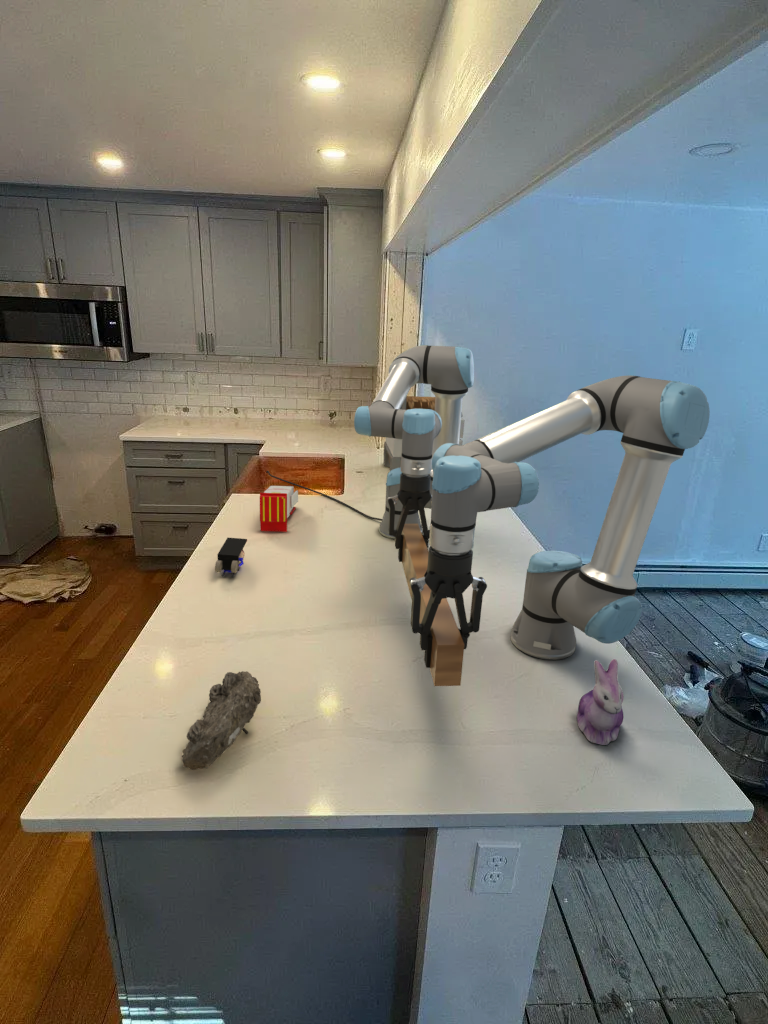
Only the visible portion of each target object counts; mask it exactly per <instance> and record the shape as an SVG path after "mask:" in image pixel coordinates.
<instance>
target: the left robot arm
mask: <svg viewBox="0 0 768 1024" xmlns="http://www.w3.org/2000/svg"><path fill="white" fill-rule="evenodd" d="M474 383H475V361H474V355H473V352H472V350H471V349H469V348H467V347H461V346H453V345H451V346H449V345H429V344H422V345H420V344H419V345H415V346H412V347H411V348H407V349H406V350H404V351H403V352H401V353H400V354H397V356H396V357H395V358H394V359H393V360H392V362H391V363H390V365H389V367H388V375H387V376H386V379H385V381H384V382H383V383H382V385H381V387H380V389H379V391H378V393H376V396H375V398H374V399H373V401H372V402H371V405H361V406H358V407H357V408H356V411H355V413H354V419H353V425H354V430H355V432H356V434H358V435H360V436H365V437H369V438H370V437H373V438H375V437H378V438H396V439H402V456H401V468H396V469H393V470H391V471H390V470H389V472H388V473H387V475H386V482H385V504H384V505H385V507H384V508H385V509H384V513H383V515H382V518H380V517H373V516H370V515H367V514H366V513H364V512H362V511H360V510H358V509H357V508H354V507H352V506H351V505H350V504H347V503H345V502H343V501H341V500H339V499H337V498H334V497H332V496H330V495H327V494H326V493H322V492H319V491H318V490H314V489H312V488H309V487H306V486H303V485H300V484H297V483H294V482H291V481H289V480H286V479H283V478H280V477H277V476H275V475H273V474H272V473H270V470H266V472H265V473H266V474H268V476H270V477H271V478H274V479H277V480H279V481H281V482H284V483H287V484H290V485H291V486H295V487H298V488H301V489H304V490H307V491H310V492H313V493H316V494H318V495H321V496H323V497H326V498H327V499H330V500H333V501H335V502H337V503H339V504H341V505H343V506H345V507H347V508H349V509H351V510H352V511H354V512H356V513H358V514H360V515H362V516H364V517H365V518H368V519H371V520H374V521H379V527H378V533H379V534H380V535H381V536H382V537H385V538H387V539H389V540H394V547H395V550H398V553H397V554H398V555H397V558H398V562H399V563H402V557H403V535H401V534H402V531H403V528H404V524H418V525H419V528H420V530H421V533H422V536H423V538H424V541H425V543H426V546H427V549H429V537H430V529H429V528H428V522H427V517H426V511H425V509H428V510H429V509H430V510H431V507H432V482H433V476H434V472H433V469H432V458H433V455H434V453H435V451H436V450H437V449H438V448H439V447H440V446H442V445H444V444H446V443H452V444H459V438H460V425H461V418H462V417H461V412H462V413H463V411H462V409H463V399H464V397H465V396H466V395H467V394H468V393H469V389H470V388H473V386H474ZM416 384H423V385H430V392H431V393H432V394H433V395H434V397H435V411H434V410H431V409H408V410H401V409H400V408H401V406H402V404H403V402H404V400H405V398H406V396H408V395H409V392H410V390H411V389H412V388H413V387H415V386H416ZM460 439H461V438H460Z"/></svg>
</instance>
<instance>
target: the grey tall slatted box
mask: <svg viewBox="0 0 768 1024" xmlns="http://www.w3.org/2000/svg"><path fill="white" fill-rule="evenodd" d="M400 409H401V410H408V409H431V410H434V411H435V396H415V395H414V396H413V395H412V396H411V395H407V396H406V398H405V400H404V402H403V404H402V406H401V408H400ZM464 429H465V419H464V418H463V411H462V412H461V425H460V438H459V445H460V446H462V445H463V442H464V441H463V440H462V439H463V438H464V431H465V430H464ZM401 456H402V439H396V438H386V437H384V442H383V466H384V467H388V468H389V472H390V471H391V470H393V469H396V468H401Z"/></svg>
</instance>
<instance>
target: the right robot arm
mask: <svg viewBox="0 0 768 1024" xmlns="http://www.w3.org/2000/svg"><path fill="white" fill-rule="evenodd" d="M710 413H711V412H710V403H709V402H708V398H707V395H706V394H705V392H704V391H703V390H702V389H701V388H700V387H698V386H696V385H693V384H690V383H686V382H681V381H676V380H669V379H668V380H667V379H660V378H652V377H646V376H645V377H644V376H639V375H631V374H630V375H629V374H628V375H620V376H614V377H610V378H607V379H603V380H600V381H597V382H594V383H592V384H590V385H586V386H583V387H582V388H578V389H577V390H575V391H573V392H571V393H570V394H568V395H567V397H566V400H563V401H561V402H560V403H557V404H554V405H552V406H550V407H548V408H546V409H543V410H541V411H538V412H536V413H534V414H532V415H529V416H526V417H525V418H523V419H520V420H518V421H516V422H513V423H511V424H509V425H507V426H504V427H502V428H500V429H498V430H495V431H493V432H490V433H488V434H486V435H483V436H481V437H479V438H476V439H474V440H472V441H469V442H467V443H464V444H462V446H460V445H459V444H452V443H446V444H444V445H442V446H440V447H439V448H438V449H437V450H436V451H435V453H434V455H433V458H432V469H433V472H434V476H433V482H432V507H431V509H430V524H429V525H430V526H429V530H430V537H429V541H428V545H429V546H428V551H429V552H428V567H427V571H426V573H425V574H424V577H421V578H418V579H415V578H411V579H410V580H409V581H410V585H411V589H412V599H411V607H410V627H411V632H412V633H413V634H414V635H415V634H419V647H420V651H424V652H423V653H424V654H423V661H424V665H425V668H426V669H430V666H431V652H432V638H433V637H432V633H431V630H430V629H431V626H432V623H433V620H434V617H435V614H436V611H437V609H438V606H439V604H440V603H441V600H442V599H444V598H447V599H448V598H449V599H454V603H455V604H454V605H455V609H456V615H457V619H458V625H459V628H458V629H459V632H460V634H461V637H462V640H463V642H464V650H467V648H468V642H469V641H468V639H469V638H470V636H471V633H478V632H479V631H480V627H481V616H482V606H483V598H484V595H485V592H486V590H487V588H488V584H487V582H486V580H485V579H484V577H482V576H478V577H476V576H473V573H472V568H473V567H472V566H473V565H472V564H473V558H474V557H473V555H474V551H473V549H474V543H475V534H476V533H475V532H476V523H477V517H478V513H482V512H488V511H494V510H495V511H496V510H500V509H509V508H517V507H519V506H523V505H527V504H530V503H532V502H533V501H534V500H535V499H536V498H537V496H538V493H539V487H540V479H539V475H538V473H537V471H536V469H535V468H534V467H533V466H532V465H531V464H530V463H528V462H523V461H525V460H527V459H529V458H531V457H534V456H535V455H537V454H540V453H542V452H544V451H546V450H548V449H550V448H553V447H556V446H557V445H559V444H561V443H564V442H566V441H568V440H570V439H572V438H575V437H576V436H579V435H585V436H588V435H593V434H594V433H597V432H601V431H613V432H618V433H622V436H621V439H620V445H621V447H622V448H623V451H624V453H625V454H624V457H623V459H622V462H621V465H620V468H619V472H618V476H617V478H616V481H615V484H614V487H613V489H612V490H613V491H612V494H611V495H610V496H611V497H610V500H609V502H608V506H607V509H606V512H605V515H604V519H603V521H602V525H601V528H600V531H599V534H598V536H597V540H596V544H595V547H594V550H593V553H592V555H591V559H590V561H589V562H587V563H585V564H584V563H583V560H582V557H580V556H579V555H578V554H574V553H572V552H568V551H562V550H544V551H539V552H536V553H534V554H533V555H531V556H530V558H529V561H528V565H527V568H526V574H525V584H524V592H523V600H522V607H521V609H520V612H519V614H518V616H517V618H516V619H515V622H514V623H513V625H512V627H511V629H510V630H511V631H510V641H511V643H512V644H513V646H514V647H515V648H517V650H519V651H521V652H522V653H524V654H526V655H528V656H530V657H533V658H536V659H540V660H541V659H542V660H548V661H556V660H557V661H558V660H565V659H567V658H570V657H571V656H572V655H573V654H574V653H575V651H576V646H577V638H576V632H575V628H576V629H578V630H579V631H580V632H582V633H584V634H585V636H587V637H589V638H592V639H594V640H596V641H598V642H599V643H602V644H609V645H610V644H613V643H614V644H615V643H617V642H619V641H621V640H623V639H624V638H625V637H626V636H628V635H629V634H630V633H631V632H632V631H633V630H634V629H635V627H636V626H637V624H638V623H639V621H640V619H641V616H642V613H643V604H642V602H641V600H639V598H638V597H636V596H635V594H636V592H637V589H638V583H637V581H636V579H635V578H634V573H635V570H636V567H637V564H638V561H639V558H640V555H641V553H642V550H643V547H644V544H645V540H646V538H647V535H648V532H649V529H650V526H651V523H652V521H653V517H654V514H655V512H656V509H657V507H658V503H659V500H660V497H661V494H662V491H663V488H664V486H665V482H666V481H667V476H668V474H669V470H670V468H671V465H672V464H673V463H674V462H676V461H678V460H680V459H682V458H683V456H684V453H685V450H689V449H692V448H694V447H696V446H697V445H698V444H699V443H700V440H702V439H703V438H704V436H705V434H706V432H707V430H708V426H709V423H710V417H711V416H710ZM425 584H427V585H428V587H429V588H430V589H431V593H430V599H429V601H428V604H427V607H426V610H425V613H424V616H423V619H422V622H421V624H420V623H419V622H420V605H421V594H420V592H422V590H423V589H424V585H425ZM470 586H471V588H472V592H471V593H472V594H471V605H470V606H471V607H470V614H469V621H468V619H467V613H466V607H465V600H464V595H463V594H464V592H466V590H467V589H468V588H469V587H470Z"/></svg>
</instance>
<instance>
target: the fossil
mask: <svg viewBox="0 0 768 1024" xmlns="http://www.w3.org/2000/svg"><path fill="white" fill-rule="evenodd" d="M261 693H262V691H261V688H260V684H259V680H258V679H257V677H256V676H253V675H252V674H251V673H250V672H249V671H243V670H242V671H238V672H233V671H228V672H226V673H225V674H224V677H223V678H222V684H221V683H217V684H213V685H212V686H211V688H210V689H209V693H208V697H209V699H208V700H209V702H208V703H207V706H206V707H205V710H204V712H203V714H202V719H196V721H195V722H194V723H193V724H192V725H191V726H190V727H189V730H188V732H187V734H186V739H187V740H188V743H187V744H186V746H185V748H183V750H182V755H181V758H182V759H181V761H182V766H183V768H188V769H189V770H190V771H194V770H198V769H204V768H205V769H209V768H210V767H211V766H212V765H213V764H214V763H215V762H216V761H217V760H218V759H219V758H221V756H222V755H223V754H224V753H225V752H226V751H227V750H228V749H229V748H230V747H231V746H232V745H234V743H235V742H236V740H237V737H238V736H240V734H241V733H242V732H243V733H244V734H245V735H248V734H249V731H248V730H247V729H246V728H245V727H246V724H248V723H250V722H251V720H252V719H253V717H254V716H255V713H256V711H257V710H258V709H257V708H258V706H259V704H261V702H262V695H261Z"/></svg>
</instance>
